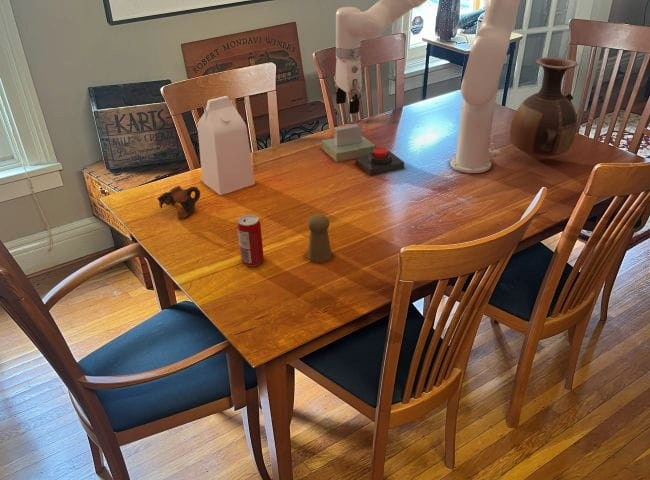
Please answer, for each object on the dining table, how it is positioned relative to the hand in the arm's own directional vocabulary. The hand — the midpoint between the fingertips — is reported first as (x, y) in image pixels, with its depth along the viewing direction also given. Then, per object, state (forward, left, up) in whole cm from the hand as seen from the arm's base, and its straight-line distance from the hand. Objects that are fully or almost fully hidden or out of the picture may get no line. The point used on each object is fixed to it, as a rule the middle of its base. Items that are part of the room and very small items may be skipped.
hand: (347, 108), depth 197 cm
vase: (-52, +32, -15) cm, 63 cm away
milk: (+43, +5, -15) cm, 45 cm away
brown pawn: (+34, +55, -15) cm, 66 cm away
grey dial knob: (0, 0, -12) cm, 12 cm away
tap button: (-4, +15, -11) cm, 19 cm away
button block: (-4, +15, -15) cm, 21 cm away
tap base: (0, 0, -15) cm, 15 cm away
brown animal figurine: (+60, +16, -15) cm, 64 cm away
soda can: (+50, +50, -15) cm, 72 cm away
